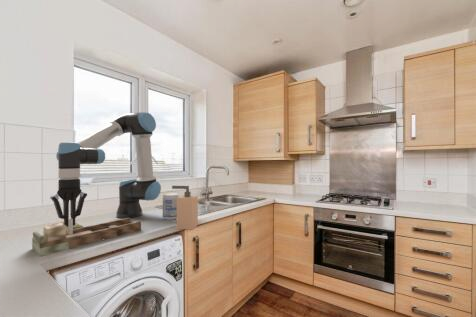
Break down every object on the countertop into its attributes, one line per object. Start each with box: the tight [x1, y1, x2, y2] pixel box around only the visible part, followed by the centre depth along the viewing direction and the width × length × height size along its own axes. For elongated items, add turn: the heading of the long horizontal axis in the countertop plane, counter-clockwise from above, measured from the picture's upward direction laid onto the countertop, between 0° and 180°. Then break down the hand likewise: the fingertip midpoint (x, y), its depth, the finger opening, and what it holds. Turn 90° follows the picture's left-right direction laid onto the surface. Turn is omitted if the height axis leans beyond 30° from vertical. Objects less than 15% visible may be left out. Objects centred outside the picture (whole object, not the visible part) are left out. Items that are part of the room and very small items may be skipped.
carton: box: [52, 221, 84, 231], centre depth 114 cm, size 8×16×4 cm, turn 54°
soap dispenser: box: [171, 185, 199, 231], centre depth 123 cm, size 13×9×22 cm
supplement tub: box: [162, 192, 180, 221], centre depth 142 cm, size 10×10×15 cm
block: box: [43, 222, 66, 242], centre depth 94 cm, size 6×6×6 cm
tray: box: [31, 218, 142, 257], centre depth 106 cm, size 40×12×7 cm, turn 142°
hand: (69, 233), depth 99 cm, fingers closed
